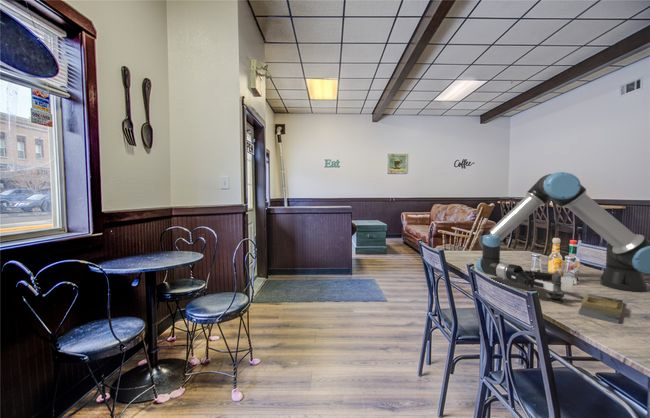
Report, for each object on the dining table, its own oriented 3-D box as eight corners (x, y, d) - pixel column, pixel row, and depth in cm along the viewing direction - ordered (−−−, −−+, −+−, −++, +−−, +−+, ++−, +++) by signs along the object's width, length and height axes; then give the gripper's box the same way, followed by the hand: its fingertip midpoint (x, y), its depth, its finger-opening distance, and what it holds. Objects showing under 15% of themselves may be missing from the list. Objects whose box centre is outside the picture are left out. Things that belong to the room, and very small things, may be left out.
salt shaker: (566, 304, 112) (567, 273, 111) (547, 301, 115) (548, 271, 114) (563, 299, 117) (564, 270, 116) (545, 296, 120) (546, 268, 119)
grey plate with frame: (587, 296, 120) (587, 290, 120) (623, 303, 112) (623, 297, 112) (577, 314, 102) (578, 307, 102) (619, 323, 95) (619, 316, 95)
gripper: (526, 276, 138) (580, 290, 118) (491, 283, 128) (544, 299, 108) (527, 261, 137) (581, 272, 118) (492, 266, 127) (544, 279, 108)
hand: (563, 285), depth 113 cm, fingers open, 13 cm apart
